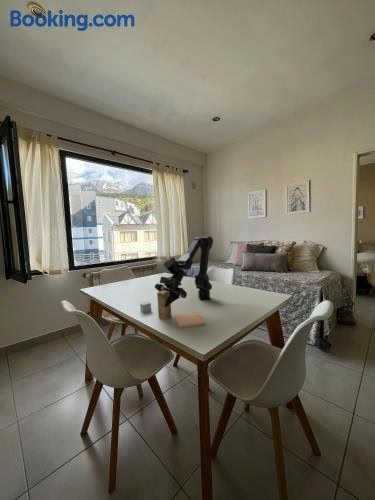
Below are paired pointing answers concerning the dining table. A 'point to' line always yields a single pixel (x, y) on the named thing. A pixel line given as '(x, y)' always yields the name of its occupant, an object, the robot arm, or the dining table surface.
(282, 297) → the dining table surface
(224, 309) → the dining table surface
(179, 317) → the terracotta tile
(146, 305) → the blue-grey cube
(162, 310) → the walnut block
